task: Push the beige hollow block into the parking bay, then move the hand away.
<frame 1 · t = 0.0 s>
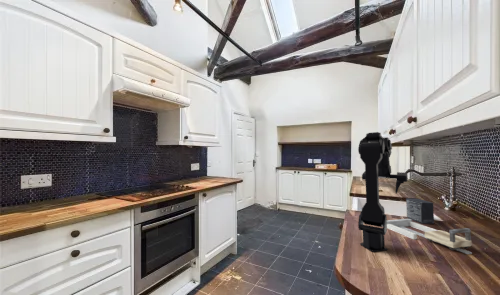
hand: (385, 192, 104), 15 cm above the countertop, tool pointing down, fingers open, 9 cm apart
parking bay: (412, 231, 91), on the countertop
beige hollow block: (446, 234, 78), point 4 cm above the countertop, slide at 0.0 cm
small box: (420, 221, 106), on the countertop
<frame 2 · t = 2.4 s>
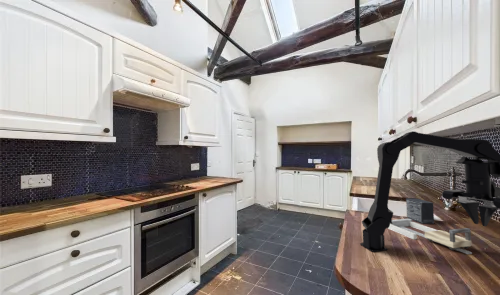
hand: (480, 225, 68), 11 cm above the countertop, tool pointing down, fingers closed
nothing on the countertop moved.
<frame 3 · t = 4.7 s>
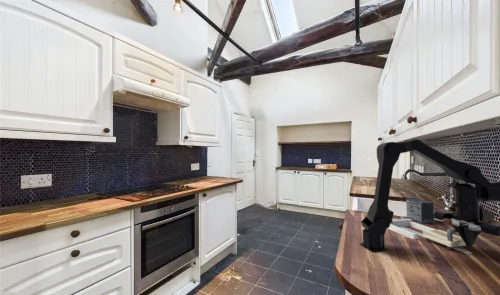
hand: (469, 246, 71), 2 cm above the countertop, tool pointing down, fingers closed
beige hollow block: (444, 234, 78), point 4 cm above the countertop, slide at 0.8 cm, touching gripper
everything else where it was.
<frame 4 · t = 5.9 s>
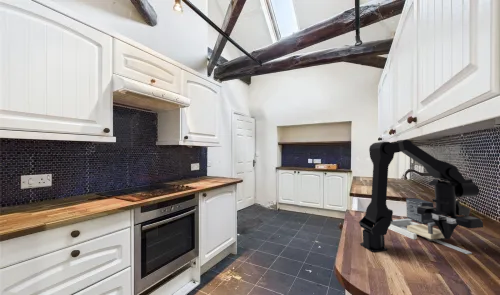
hand: (447, 239, 77), 2 cm above the countertop, tool pointing down, fingers closed
beige hollow block: (426, 228, 85), point 4 cm above the countertop, slide at 7.6 cm, touching gripper
everything else where it was.
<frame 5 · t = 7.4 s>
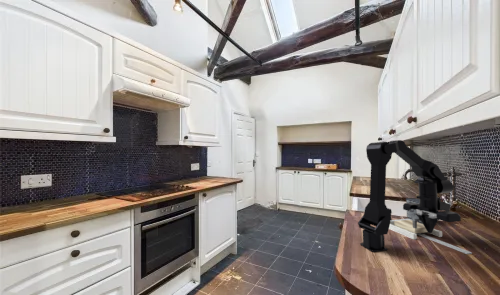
hand: (429, 232, 84), 2 cm above the countertop, tool pointing down, fingers closed
beige hollow block: (411, 223, 92), point 4 cm above the countertop, slide at 14.0 cm, touching gripper
everything else where it was.
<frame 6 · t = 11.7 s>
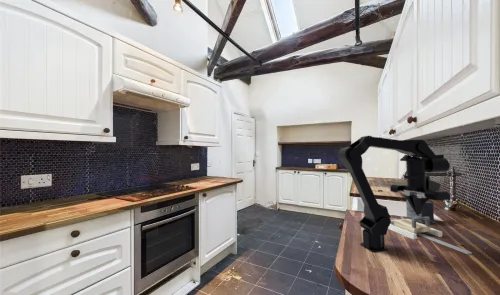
hand: (418, 214, 77), 12 cm above the countertop, tool pointing down, fingers closed
beige hollow block: (411, 222, 92), point 4 cm above the countertop, slide at 14.3 cm
everything else where it was.
at the end: beige hollow block slide at 14.3 cm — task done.
